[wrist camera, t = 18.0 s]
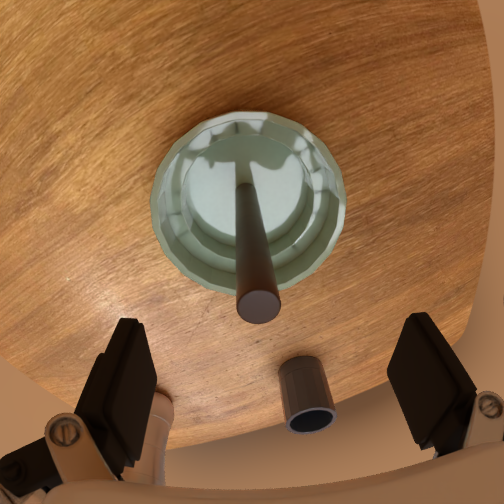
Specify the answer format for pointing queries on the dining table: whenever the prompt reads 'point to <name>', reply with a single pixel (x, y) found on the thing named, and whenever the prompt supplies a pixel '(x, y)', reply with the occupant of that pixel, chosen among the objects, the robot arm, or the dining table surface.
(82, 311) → the dining table surface
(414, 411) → the robot arm
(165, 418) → the plastic bottle
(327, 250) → the bowl
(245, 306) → the stirring stick
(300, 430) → the utensil pot
